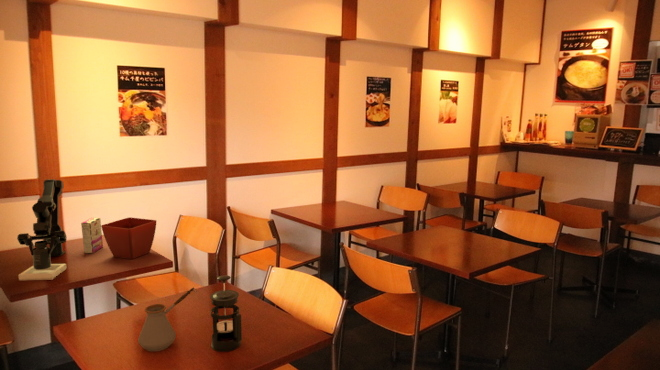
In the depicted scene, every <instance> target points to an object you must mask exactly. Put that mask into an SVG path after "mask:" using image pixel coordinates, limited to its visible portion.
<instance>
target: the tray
mask: <svg viewBox="0 0 660 370" xmlns="http://www.w3.org/2000/svg"><path fill="white" fill-rule="evenodd" d="M67 269H68V268H67V263H51V267H49V268H47V269H42V270H37V269H34V266H33V265H32V266H30V267H29V268H27V269H25V270H24V271H22V272H21V273H19V274H18V281H44V280H45V281H47V280H51V281H52V280H54V279H56V278H57V277H58V276H60V273H61V274H62V273H63V272H64V271H66V270H67ZM56 276H57V277H56Z"/></svg>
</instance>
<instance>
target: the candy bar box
mask: <svg viewBox="0 0 660 370" xmlns="http://www.w3.org/2000/svg"><path fill="white" fill-rule="evenodd" d="M80 224H81V233H82V244H83V253H84V254H94V253H96V252H98V251H99V250H101V249H102V248H103V247H104V245H103V244H104V243H103V242H104V241H103V234H102V233H103V231H102V227H101V225H102V222H101V217H91V218H88V219H87V220H85V221H83V222H81V223H80Z"/></svg>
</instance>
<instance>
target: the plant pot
mask: <svg viewBox="0 0 660 370" xmlns="http://www.w3.org/2000/svg"><path fill="white" fill-rule="evenodd" d="M156 229H157V220H156V219H146V218H139V217H124V218H122V219H118V220H115V221H112V222H108V223H105V224H101V232H102V233H103V234H102V235H103V236H104V239H105V241H106V244H107V247H108V249H109V250H110V252H111V254H112V255H113V257H117V258H123V259H126V260H127V259H129V260H133V259H136V258H139V257H141V256H144V255H147V254H149V253H151V249H152V246H153V243H154V239H155V236H156V235H155V234H156Z"/></svg>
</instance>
